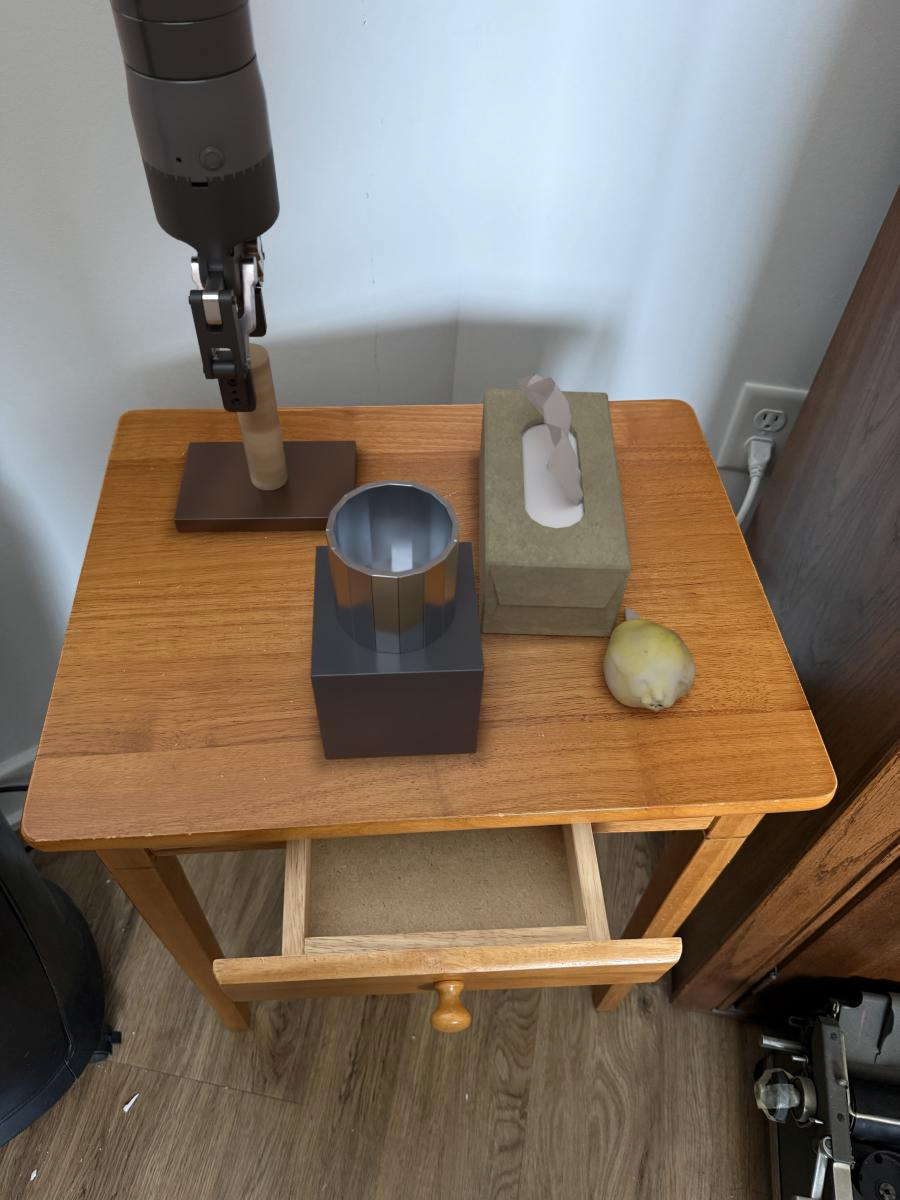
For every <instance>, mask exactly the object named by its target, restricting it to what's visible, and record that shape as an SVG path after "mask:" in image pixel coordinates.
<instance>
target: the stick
mask: <svg viewBox="0 0 900 1200" xmlns="http://www.w3.org/2000/svg"><path fill="white" fill-rule="evenodd" d="M249 346H250V356H251V358H252V364H251V370H252V375H253V381H254V387H255V393H256V398H257V403H256V409H255V410H254V411H253V412H236V414H237V420H238V425H239V429H240V433H241V438H242V442H243V444H244V449H245V454H246V458H247V463H248V468H249V473H250V478H251V482H252V484H253V485H254V486H255V487H257V488H258V489H261V490H275V489H278V488H280V487H282V486H283V485H284V484H285V483H286V481H287V479H288V472H287V466H286V459H285V453H284V447H283V441H284V440H283V435H282V429H281V428H282V427H281V424H280V417H279V410H278V404H277V399H276V391H275V385H274V379H273V373H272V367H271V361H270V355H269V351H268V350H267V348H265V346H263V345H261V344H258V343H254V342H253V343H252V342H249Z"/></svg>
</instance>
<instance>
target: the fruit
mask: <svg viewBox="0 0 900 1200" xmlns="http://www.w3.org/2000/svg"><path fill="white" fill-rule="evenodd" d="M624 616H625V620H624V621H622V622H621V623H619V624H618V625H617V626H615V627H614V630H613V632H612V634H611V636H610V637H609V638H610V639H609V641H608V645H607V649H606V652H605V654H604V658H603V675H604V680H605V683H606V685H607V688H608V690H609V692H610V693H611V694H612V696H613V697H614V699H615V700H616V701H617V702H618V703H620V704H622V705H624V706H627V707H631V708H644V709H648V710H652V711H654V712H659V711H662V710H663V709H668V708H671V707H672V706H673V705H674V703H675V702H676V701H677V700H678V699H680V698H682V697H683V696H685V695H686V694H687V693H689V692H691V690H692V688H693V685H694V682H695V680H696V674H697V673H696V663H695V660H694V657H693V655H692V653H691V651H690V649H689V647H688V646H687V644H686V642H685V641H684V640H683V638H682V637H681V636H680V634H678V633H677V632H676V631H674V630H673V629H671V628H669V627H666V626H664V625H661V624H659V623H658V622H656V621H653V620H650V619H646V618H641V617H640V616H639V614H638V613H636V612H635V611H634V610H633V609H632V608H630V607H625V608H624Z"/></svg>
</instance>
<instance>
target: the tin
mask: <svg viewBox="0 0 900 1200" xmlns="http://www.w3.org/2000/svg"><path fill="white" fill-rule="evenodd" d="M460 523H461V522H460V520H459V518H458V515H457V513H456V510H455V508H454V506H453V504H452V503H451V502H450V501H449V500H447V499H446V498H445V497H444V496H443V495H442V494H441V493H440V492H439V491H438V490H436V489H434V488H431V487H430V486H427V485H424V484H421V483H418V482H416V481H412V480H400V479H384V480H378V481H373V482H369V483H365V484H362V485H360V486H359V487H356V489H355V490H353V491H351V492H349V493H347V494H346V495H344V496H343V497H342V498H341V499H340V501H339V502H338V503H337V504H336V505H335V507H334V508H333V509H332V510H331V512H330V514H329V519H328V523H327V527H326V530H325V536H326V537H325V538H326V546H328V553H329V561H330V569H331V577H332V586H333V594H334V602H335V609H336V613H337V616H338V620H339V623H340V626H341V628H342V629H343V630H344V631H345V632H346V633H347V634H348V635H349V636H350V637H351V638H352V639H353V640H354V641H355V642H356V643H358V644H360V645H363V646H365V647H367V648H369V649H371V650H374V651H377V652H386V653H398V654H400V653H405V652H410V651H414V650H418V649H422V648H423V647H424V648H425V647H426V646H428V645H429V644H431V643H432V642H434V641H435V640H437V639H438V638H440V637H441V636H442V635H443V634H444V633H445V631H446V630H447V628H448V627H449V625H450V624H451V622H452V620H453V618H454V612H455V602H456V584H457V565H458V545H459V542H460Z"/></svg>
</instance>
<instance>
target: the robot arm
mask: <svg viewBox="0 0 900 1200" xmlns="http://www.w3.org/2000/svg"><path fill="white" fill-rule="evenodd" d="M109 3H110V8H111V12H112V17H113V20H114V25H115V29H116V33H117V37H118V42H119V46H120V51H121V54H122V59H123V65H124V71H125V77H126V78H125V79H126V88H127V98H128V105H129V109H130V110H129V111H130V115H131V120H132V123H133V127H134V130H135V135H136V139H137V144H138V148H139V152H140V157H141V161H142V165H143V169H144V173H145V177H146V182H147V185H148V191H149V194H150V199H151V203H152V206H153V207H152V208H153V211H154V215H155V219H156V222H157V224H158V225H159V227H160V228H161V230H162V231H164V232H165V233H166V234H167V235H168V236H170V237H172V238H173V239H175V240H177V241H180V242H182V243H184V244H186V245H188V246H190V247H191V248H193V249H194V250H195V251H196V253H197V254H196V255H192V256H191V257H190V270H191V280H192V282H193V284H194V285H195V287H196V289H190V290H189V295H188V299H187V300H188V305H189V306H190V310H191V314H192V315H191V316H192V320H193V324H194V329H195V334H196V335H195V336H196V339H197V344H198V349H199V352H200V353H199V354H200V358H201V363H202V373H203V375H204V377H205V379H206V380H217V382H218V383H217V384H218V387H219V388H218V389H219V392H220V396H221V401H222V406H223V409H224V410H225V411H227V412H229V413H237V412H253V411H254V410H255V409H256V403H257V398H256V393H255V387H254V381H253V375H252V370H251V364H252V358H251V356H250V346H249V343H250V338H263V337H265V336H266V335H267V330H268V324H267V317H266V316H267V315H266V311H265V310H266V309H265V302H264V297H263V291H262V288H263V285H264V283H265V273H264V271H265V270H264V269H265V268H264V262H265V260H266V253H265V252H264V249H263V248H264V247H263V242H262V235H263V234H265V233H266V232H268V231H270V229H271V228H272V227H273V226H274V225H275V223H276V222H277V220H278V218H279V215H280V212H281V211H280V210H281V204H280V197H279V189H278V181H277V173H276V172H277V170H276V164H275V156H274V155H275V154H274V148H273V146H274V145H273V140H272V131H271V124H270V115H269V107H268V101H267V94H266V89H265V85H264V81H263V76H262V73H261V69H260V66H259V65H260V64H259V60H258V54H257V50H256V49H257V48H256V47H257V46H256V40H255V39H256V38H255V32H254V23H253V16H252V9H251V8H252V7H251V0H109ZM220 349H222V350H220ZM223 349H224V350H223ZM225 349H226V350H225ZM227 349H228V350H227Z"/></svg>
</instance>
